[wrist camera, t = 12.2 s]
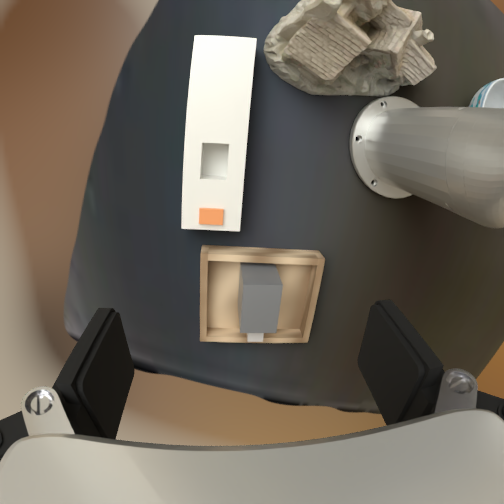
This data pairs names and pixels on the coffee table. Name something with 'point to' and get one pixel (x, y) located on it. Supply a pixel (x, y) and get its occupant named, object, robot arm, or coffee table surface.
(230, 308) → the tray
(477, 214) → the robot arm
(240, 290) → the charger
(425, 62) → the ceramic cottage
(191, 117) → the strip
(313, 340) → the coffee table surface
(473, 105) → the chinaware
